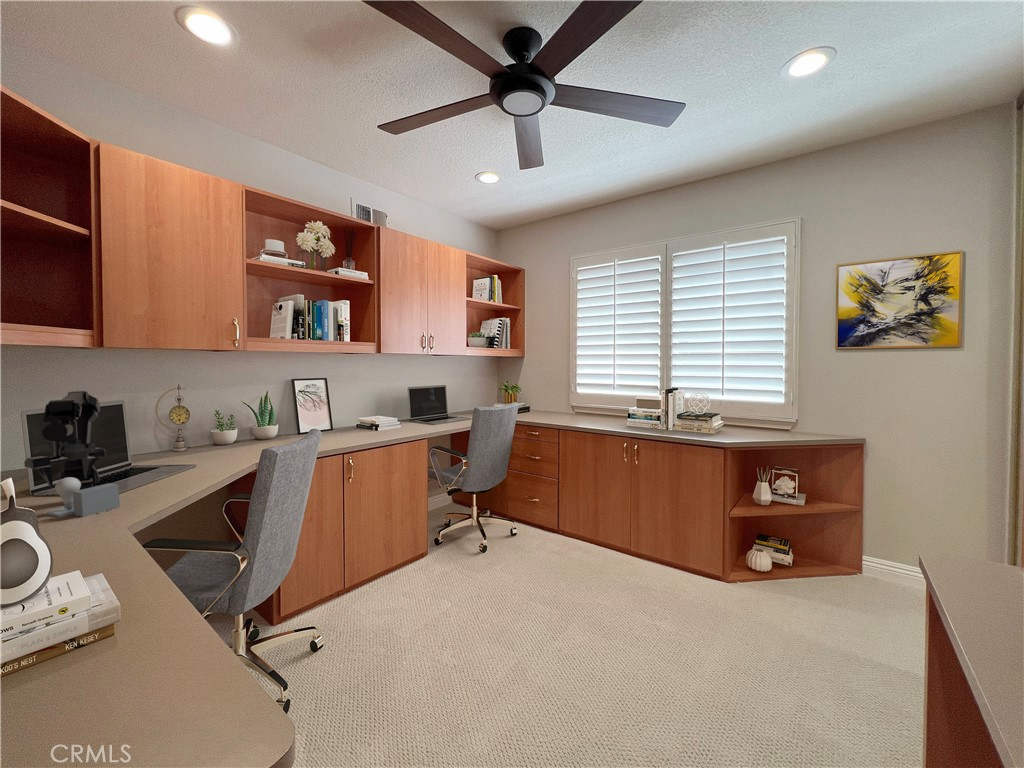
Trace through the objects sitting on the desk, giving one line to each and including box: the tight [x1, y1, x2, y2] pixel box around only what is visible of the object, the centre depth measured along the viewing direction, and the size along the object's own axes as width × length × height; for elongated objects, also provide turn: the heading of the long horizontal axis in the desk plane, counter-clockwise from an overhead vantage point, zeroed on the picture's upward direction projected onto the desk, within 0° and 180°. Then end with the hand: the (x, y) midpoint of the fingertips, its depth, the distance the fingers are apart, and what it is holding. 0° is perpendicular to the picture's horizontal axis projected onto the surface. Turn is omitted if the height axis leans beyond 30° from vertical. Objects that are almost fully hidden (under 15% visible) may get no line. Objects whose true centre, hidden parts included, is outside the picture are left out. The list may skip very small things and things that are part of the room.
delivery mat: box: [45, 507, 74, 518], centre depth 146 cm, size 9×9×1 cm
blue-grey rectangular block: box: [73, 482, 121, 518], centre depth 146 cm, size 5×10×8 cm, turn 160°
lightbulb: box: [54, 477, 81, 509], centre depth 146 cm, size 6×6×11 cm
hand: (69, 482), depth 145 cm, fingers open, 9 cm apart
